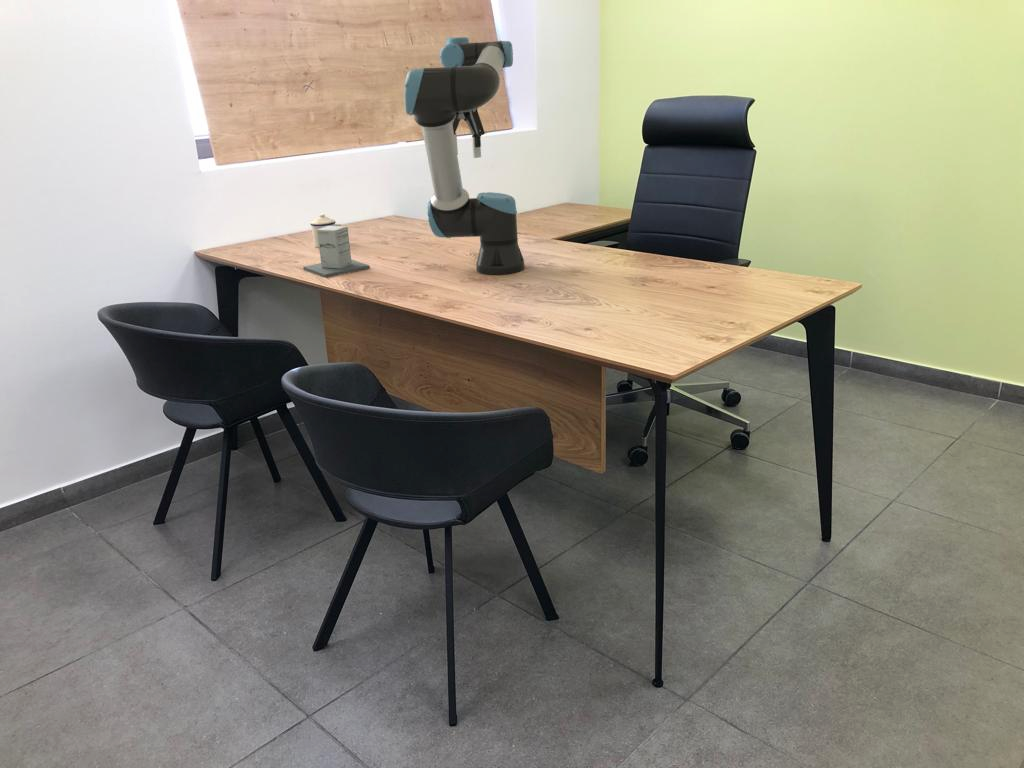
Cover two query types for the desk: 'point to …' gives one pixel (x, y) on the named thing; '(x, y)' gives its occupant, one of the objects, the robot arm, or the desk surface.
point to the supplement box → (334, 246)
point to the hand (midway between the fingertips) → (465, 156)
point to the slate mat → (335, 269)
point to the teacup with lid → (321, 226)
